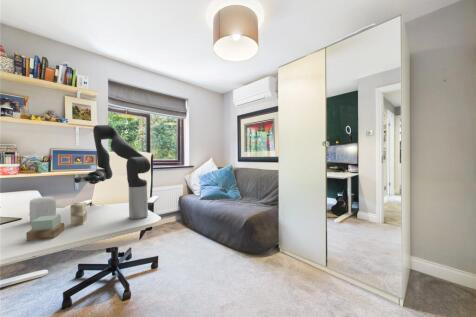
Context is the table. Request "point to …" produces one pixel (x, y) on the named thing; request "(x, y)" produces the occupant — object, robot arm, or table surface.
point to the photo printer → (42, 207)
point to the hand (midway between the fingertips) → (86, 180)
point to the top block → (45, 222)
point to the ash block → (78, 213)
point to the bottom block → (45, 233)
